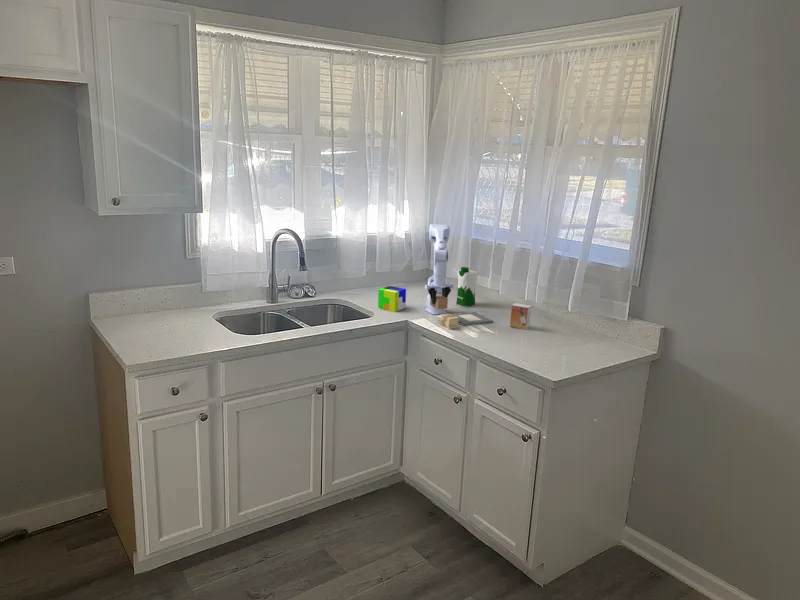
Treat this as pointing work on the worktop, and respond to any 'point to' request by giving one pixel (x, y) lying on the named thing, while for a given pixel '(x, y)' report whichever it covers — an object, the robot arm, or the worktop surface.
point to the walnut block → (440, 302)
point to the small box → (520, 316)
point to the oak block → (449, 321)
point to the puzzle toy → (392, 298)
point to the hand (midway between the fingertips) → (438, 303)
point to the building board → (472, 318)
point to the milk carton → (466, 287)
